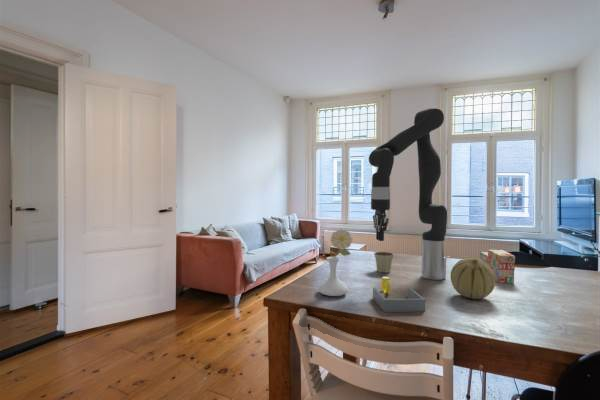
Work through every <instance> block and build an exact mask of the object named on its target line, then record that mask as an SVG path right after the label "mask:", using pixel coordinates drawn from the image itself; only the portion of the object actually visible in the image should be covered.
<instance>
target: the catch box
mask: <svg viewBox="0 0 600 400" xmlns="http://www.w3.org/2000/svg"><path fill="white" fill-rule="evenodd" d="M406 291H407V292H406V298H386V297H385V296H384V295H383V294H382V293H381V292H380V290H378V288H377V287H376V286H375V287H372V299H373V300H374V301H375V303H377V305H378V306H379V308H380V310H382V311H383V313H400V312H401V313H403V312H404V313H405V312H407V313H408V312H409V313H411V312H412V313H413V312H417V313H418V312H426V299H425V298H424V297H423V296H422V295H420V294H419V293H418V292H417V291H415V290H414V289H413V288H411V287H410V286H407V288H406Z"/></svg>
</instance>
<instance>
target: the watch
mask: <svg viewBox="0 0 600 400" xmlns="http://www.w3.org/2000/svg"><path fill="white" fill-rule="evenodd" d="M381 289H382V292H383V293H384V294H385V295H386V294H387V295H389V293H391V292H390V291H391V284H390V277H389V276H382V277H381Z"/></svg>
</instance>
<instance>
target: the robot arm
mask: <svg viewBox="0 0 600 400" xmlns="http://www.w3.org/2000/svg"><path fill="white" fill-rule="evenodd" d="M413 120H414V122H413V123H414V124H413V125H412V126H409V127H408V128H406V129H405V130H402V131H401V132H399V133H397V134H396V135H395V136H393V137H392V138H390V140H388V141H387V142H385V143H383V144H381V145H380V146H378V147H376V148H375V149H373V150H372V151H371V152H370V153H369V156H368V162H369V165H371V167H375V168H377V170H376V172H375V173H373V174H372V175H371V192H370V209H371V210H372V211H375V212H374V215H372V219H373V220H372V221H373V226H374V227H373V228H374V229H375V231H376V233H375V234H376V235H375V238H376V240H377V241H379V242H384V240H385V232H386V231H387V229H388V225H389V224H388V223H389V217H387V212H386V211H389V210H390V209H391V190H390V189H391V188H390V185H391V182H390V181H391V180H390V177H391V173H392V170H393V167H394V164H395V163H394V161H395V157H397V156H399V155H400V154H401V153H403V152H404V151H406V150H407V148H409V147H410V146H411V145H413V144H414V143H416V146H417V160H418V161H417V167H418V180H419V187H418V188H419V196H418V197H419V198H418V219H419V220H420V222H421V223H423V224H425V225H431V228H430V229H429V230H428V231H424V232H423V233H422V234H421V235H422V236H421V237H422V240H421V241H422V243H421V245H422V247H421V248H422V250H421V277H422V278H424V279H427V280H433V281H440V280H441V281H442V280H446V278H447V274H446V273H447V257H446V256H445V240H446V239H445V238H446V235H447V226H448V209H447V207H446V206H445V205H443V204H437V203H436V204H434V203H433V192H434V190H435V187H436V186H437V184H438V182H439V180H440V178H441V175H442V172H441V171H442V167H441V158H440V156H439V154H438V153H437V151H436V149H435V148H434V146H433V144H432V141H431V135H430V133H431V132H433V131H434V130H436V129H438V128H440V127H441V126H442V125H443V123H444V120H445V115H444V112H443V110H442V109H441V108H438V107H431V108H427V109H424V110H420V111H418V112H416V114H415V116H414V119H413Z"/></svg>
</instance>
